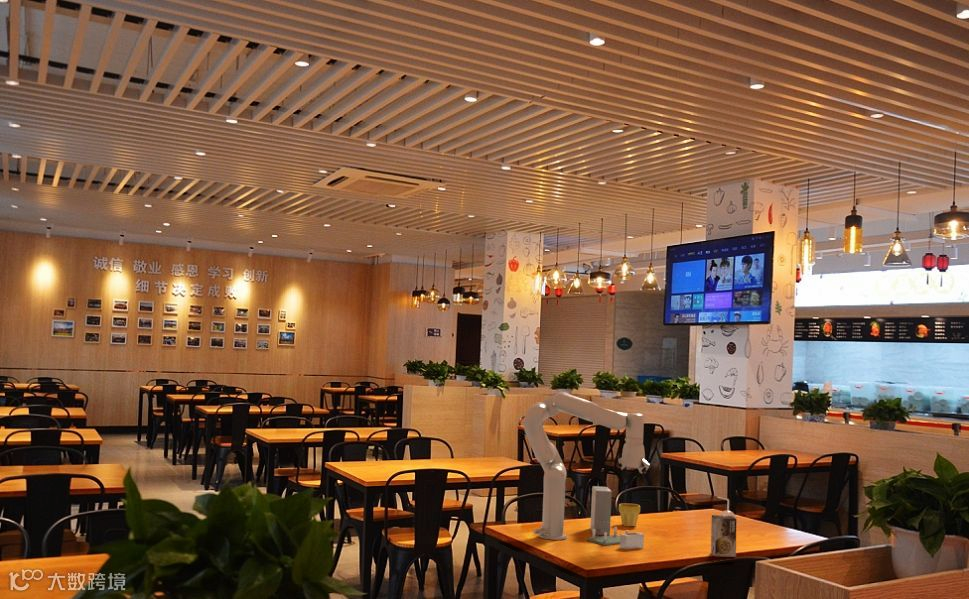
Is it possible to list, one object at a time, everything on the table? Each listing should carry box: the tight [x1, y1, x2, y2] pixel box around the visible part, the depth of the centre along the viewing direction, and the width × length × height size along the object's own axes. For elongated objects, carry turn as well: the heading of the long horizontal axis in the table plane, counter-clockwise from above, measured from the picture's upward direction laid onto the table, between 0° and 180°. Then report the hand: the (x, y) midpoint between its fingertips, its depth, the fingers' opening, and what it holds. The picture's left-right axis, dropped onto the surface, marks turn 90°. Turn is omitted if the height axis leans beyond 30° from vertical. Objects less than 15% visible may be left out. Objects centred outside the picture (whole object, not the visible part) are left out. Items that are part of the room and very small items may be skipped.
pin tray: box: [587, 526, 630, 547], centre depth 377 cm, size 17×11×5 cm, turn 126°
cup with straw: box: [716, 495, 738, 520], centre depth 391 cm, size 8×9×20 cm
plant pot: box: [618, 503, 641, 527], centre depth 416 cm, size 10×10×10 cm
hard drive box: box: [590, 485, 613, 536], centre depth 397 cm, size 16×8×20 cm, turn 179°
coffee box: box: [710, 514, 738, 558], centre depth 362 cm, size 9×6×16 cm
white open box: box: [619, 531, 645, 551], centre depth 366 cm, size 10×4×6 cm, turn 123°
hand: (632, 480), depth 376 cm, fingers open, 9 cm apart
